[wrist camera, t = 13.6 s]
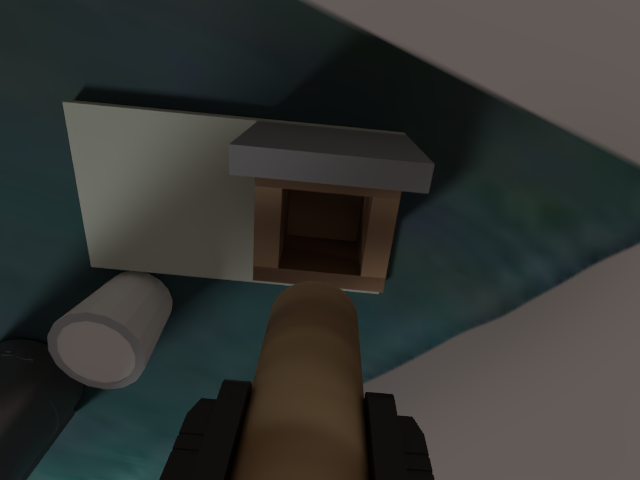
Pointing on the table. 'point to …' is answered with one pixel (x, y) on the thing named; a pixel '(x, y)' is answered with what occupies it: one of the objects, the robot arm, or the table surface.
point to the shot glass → (112, 331)
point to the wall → (331, 157)
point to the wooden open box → (323, 233)
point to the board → (165, 190)
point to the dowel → (306, 392)
